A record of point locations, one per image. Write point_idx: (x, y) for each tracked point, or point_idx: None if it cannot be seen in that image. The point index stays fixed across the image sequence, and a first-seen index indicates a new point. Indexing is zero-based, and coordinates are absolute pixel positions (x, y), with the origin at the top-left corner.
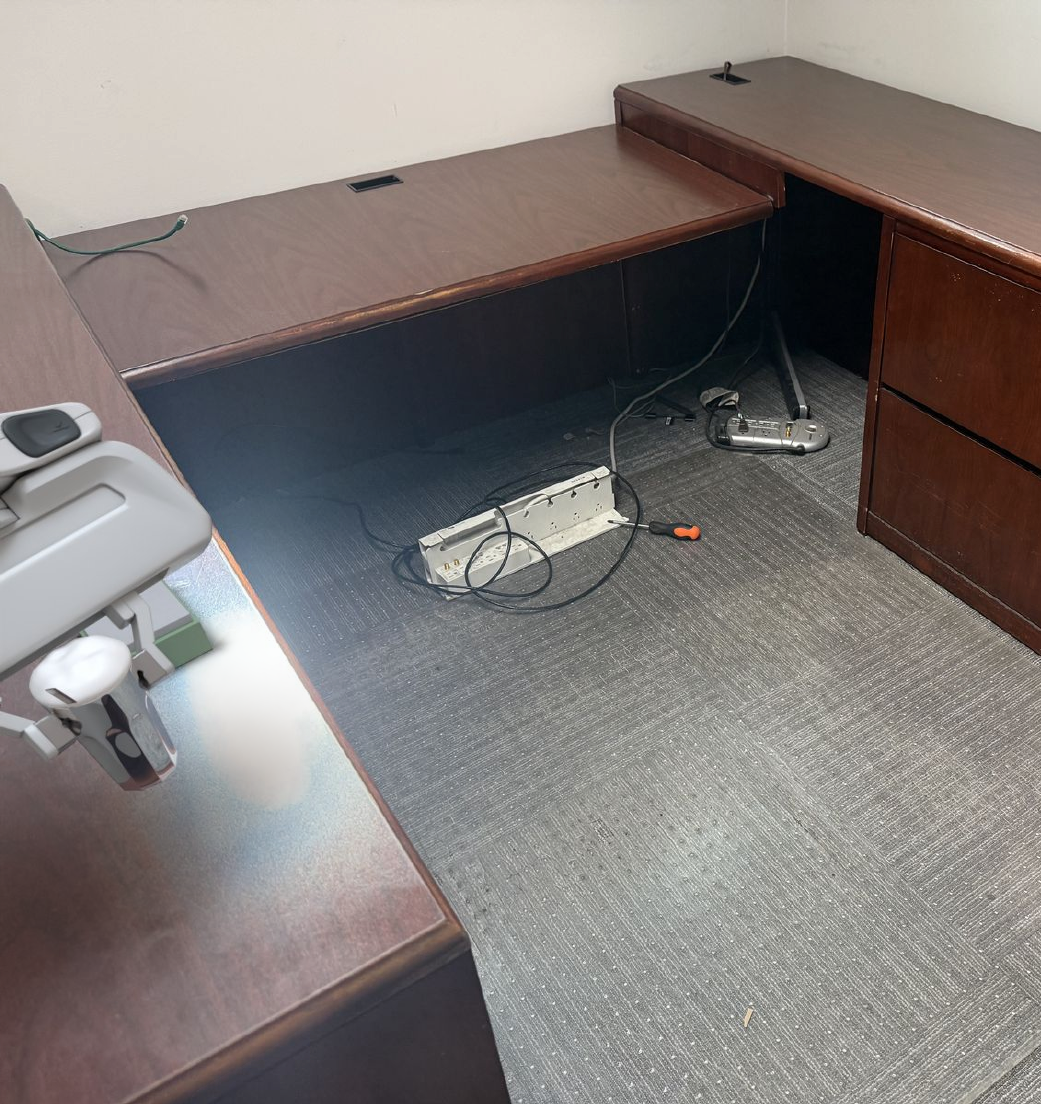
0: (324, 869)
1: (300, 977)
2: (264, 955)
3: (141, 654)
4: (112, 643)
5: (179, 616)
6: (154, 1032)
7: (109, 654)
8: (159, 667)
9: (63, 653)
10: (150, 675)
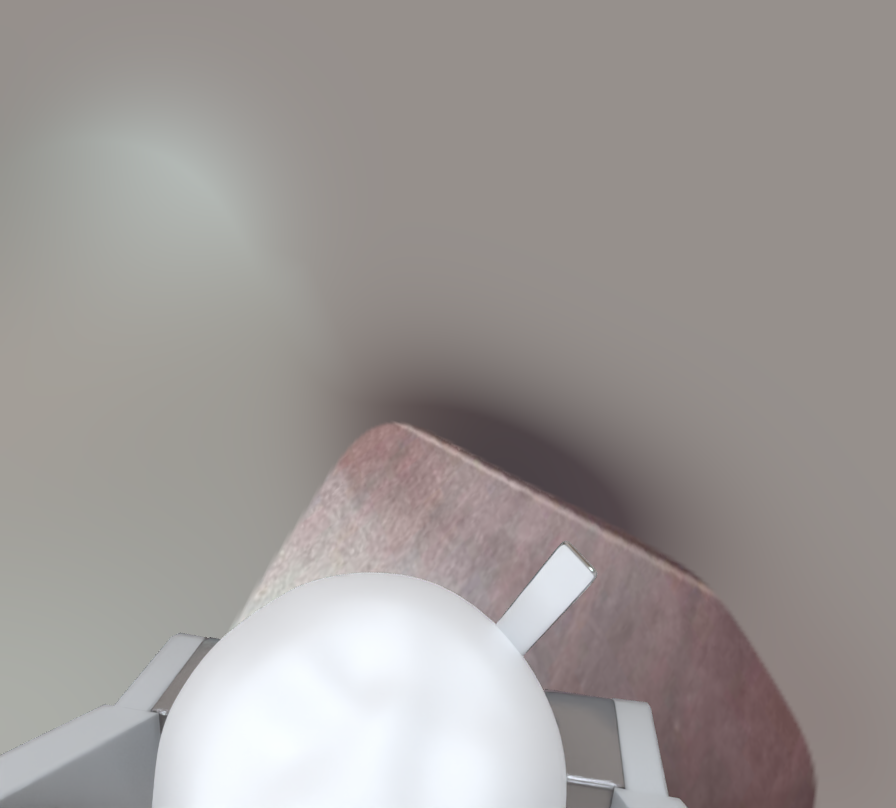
0: None
1: (509, 518)
2: (507, 588)
3: None
4: (199, 703)
5: None
6: (663, 648)
7: (265, 642)
8: (203, 647)
9: None
10: None
